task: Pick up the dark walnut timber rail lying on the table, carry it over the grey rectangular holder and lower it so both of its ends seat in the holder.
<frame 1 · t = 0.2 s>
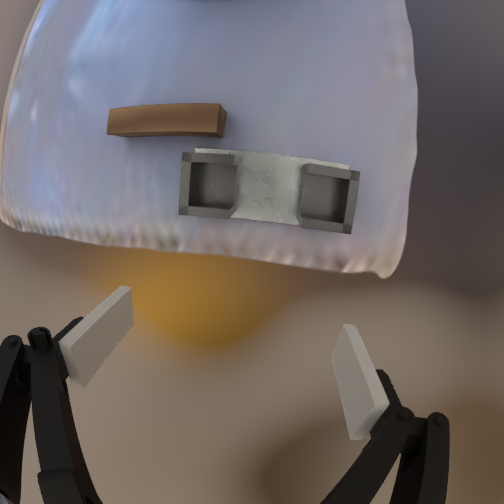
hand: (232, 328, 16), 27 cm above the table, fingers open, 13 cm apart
rail: (172, 123, 38), on the table
grey rectangular holder: (268, 187, 40), on the table
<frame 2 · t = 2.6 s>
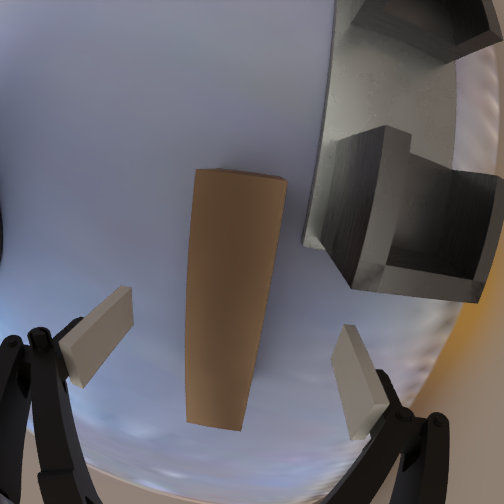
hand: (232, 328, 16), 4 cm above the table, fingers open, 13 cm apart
rail: (233, 291, 20), on the table
grey rectangular holder: (395, 97, 14), on the table
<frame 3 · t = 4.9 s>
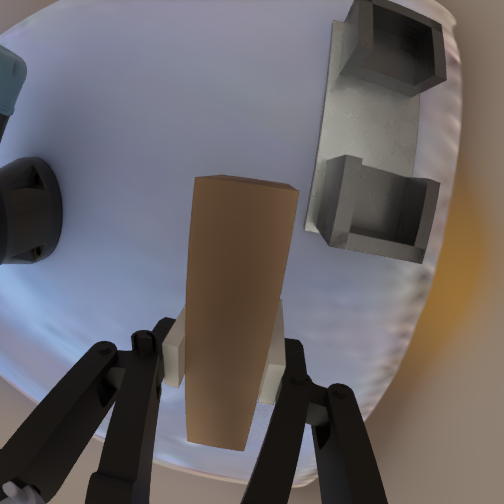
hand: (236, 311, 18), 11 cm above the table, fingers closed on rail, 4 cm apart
rail: (237, 307, 18), point 10 cm above the table, touching gripper
grey rectangular holder: (370, 126, 23), on the table
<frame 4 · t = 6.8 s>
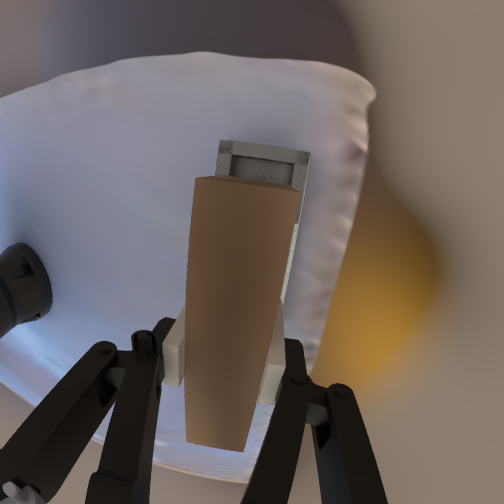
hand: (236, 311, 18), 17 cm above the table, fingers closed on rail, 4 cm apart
rail: (237, 307, 18), point 16 cm above the table, touching gripper
grey rectangular holder: (253, 242, 33), on the table
when the fingers open (4 cm above the table, at t = 9.4 s): rail stays where it is, resting on grey rectangular holder.
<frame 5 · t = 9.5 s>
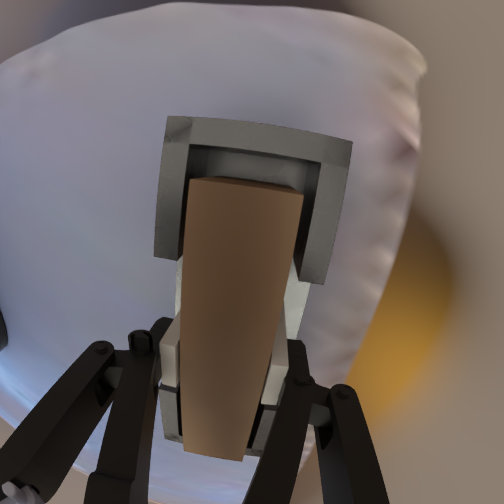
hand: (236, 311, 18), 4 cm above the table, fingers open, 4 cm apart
rail: (236, 314, 17), point 4 cm above the table, touching grey rectangular holder
grey rectangular holder: (241, 287, 21), on the table
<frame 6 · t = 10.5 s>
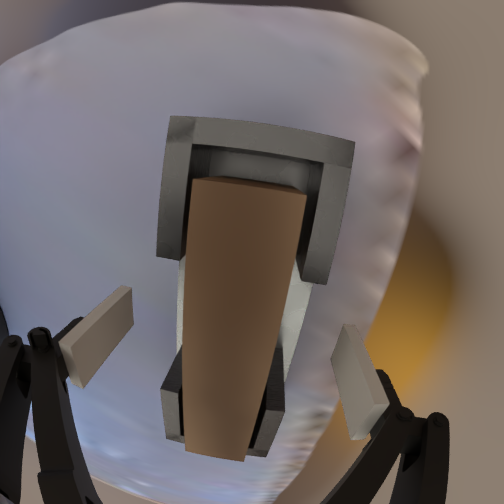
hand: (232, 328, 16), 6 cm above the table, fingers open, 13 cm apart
rail: (238, 314, 17), point 4 cm above the table, touching grey rectangular holder
grey rectangular holder: (243, 287, 21), on the table
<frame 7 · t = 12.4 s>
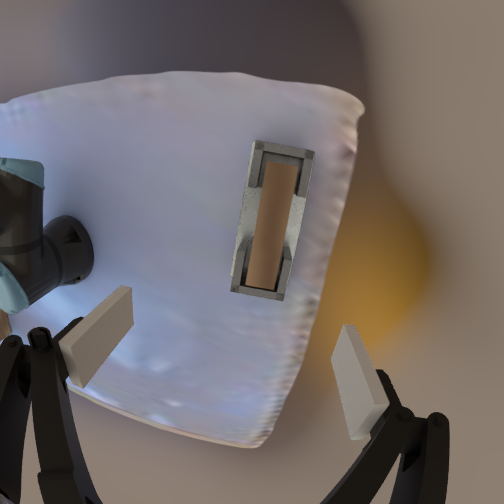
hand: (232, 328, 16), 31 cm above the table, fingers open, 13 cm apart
rail: (271, 220, 41), point 4 cm above the table, touching grey rectangular holder
grey rectangular holder: (271, 215, 45), on the table
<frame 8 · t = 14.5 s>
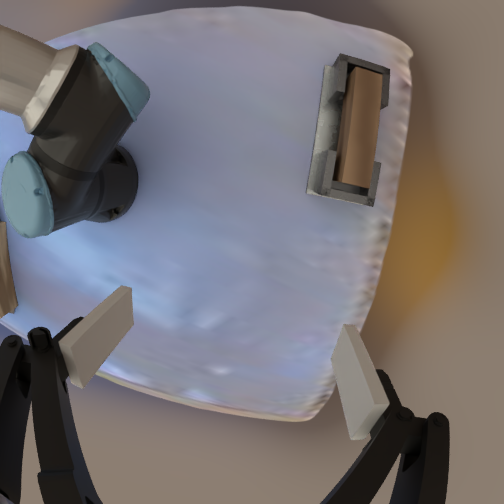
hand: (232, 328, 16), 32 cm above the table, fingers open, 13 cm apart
rail: (352, 130, 36), point 4 cm above the table, touching grey rectangular holder
grey rectangular holder: (345, 133, 40), on the table
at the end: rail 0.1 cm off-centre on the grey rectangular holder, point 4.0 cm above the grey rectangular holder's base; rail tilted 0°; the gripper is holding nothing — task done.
